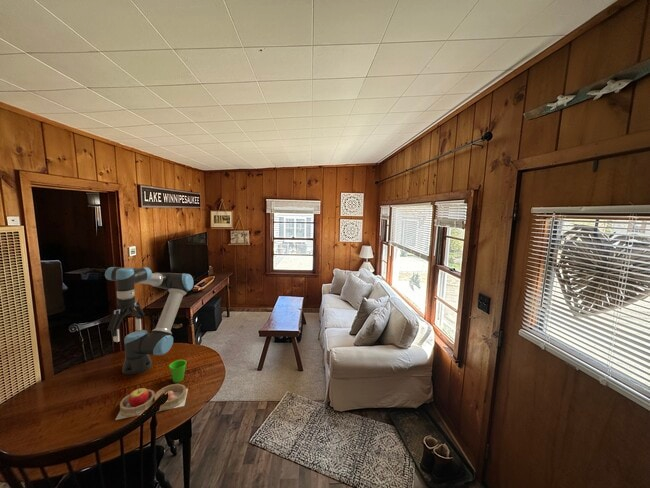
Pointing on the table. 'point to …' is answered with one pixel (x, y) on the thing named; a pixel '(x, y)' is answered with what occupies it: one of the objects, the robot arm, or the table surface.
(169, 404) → the ring
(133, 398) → the apple
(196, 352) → the table surface
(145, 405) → the ring
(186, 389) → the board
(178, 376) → the cup
